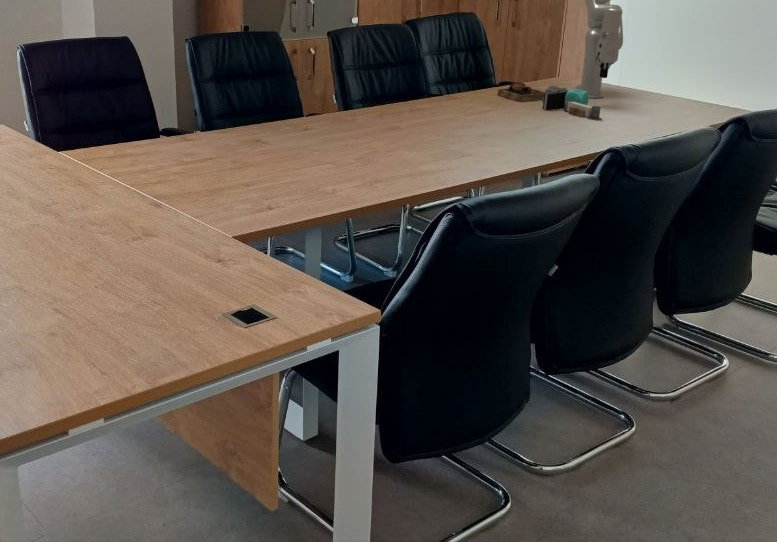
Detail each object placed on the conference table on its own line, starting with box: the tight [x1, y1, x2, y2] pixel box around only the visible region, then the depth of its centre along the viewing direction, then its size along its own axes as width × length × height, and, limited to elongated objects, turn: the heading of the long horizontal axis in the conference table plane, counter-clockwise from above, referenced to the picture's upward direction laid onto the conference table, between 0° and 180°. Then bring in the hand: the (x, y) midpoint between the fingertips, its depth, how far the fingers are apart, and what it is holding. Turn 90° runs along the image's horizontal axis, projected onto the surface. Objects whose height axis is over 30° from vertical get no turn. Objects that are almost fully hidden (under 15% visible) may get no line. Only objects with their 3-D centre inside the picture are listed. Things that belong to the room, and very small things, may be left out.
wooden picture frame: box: [497, 87, 545, 103], centre depth 425 cm, size 16×18×3 cm
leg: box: [563, 100, 592, 118], centre depth 396 cm, size 16×4×4 cm, turn 32°
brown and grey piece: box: [568, 105, 603, 121], centre depth 391 cm, size 15×7×5 cm, turn 33°
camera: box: [542, 84, 569, 111], centre depth 405 cm, size 15×7×10 cm, turn 133°
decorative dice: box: [565, 88, 590, 106], centre depth 406 cm, size 8×8×8 cm
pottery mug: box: [508, 81, 532, 95], centre depth 423 cm, size 12×10×8 cm
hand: (603, 77), depth 412 cm, fingers closed
